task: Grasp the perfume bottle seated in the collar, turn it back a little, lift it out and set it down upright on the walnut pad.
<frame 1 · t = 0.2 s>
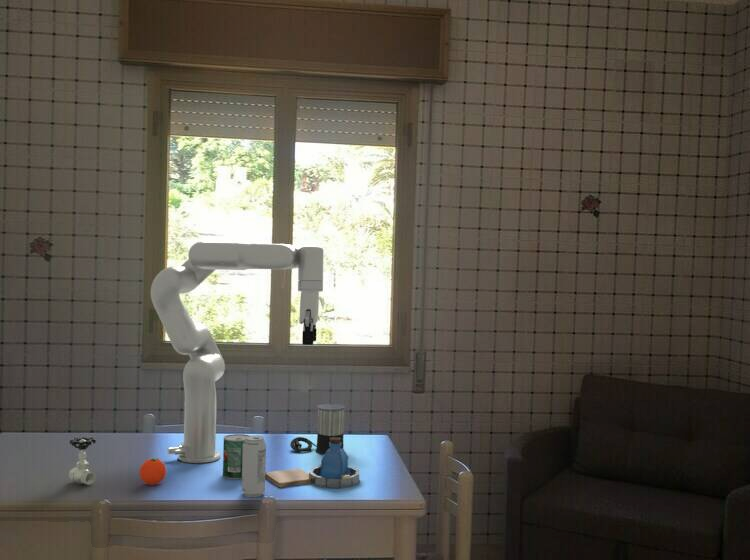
hand: (309, 342, 226), 37 cm above the table, tool pointing down, fingers open, 9 cm apart
energy drink can: (253, 495, 197), on the table
valve: (81, 484, 201), on the table
canned tomato: (236, 476, 213), on the table
perfume bottle: (334, 481, 211), resting in collar
clementine: (153, 484, 203), on the table
milk frother: (317, 451, 243), on the table
pad: (289, 479, 211), on the table
collar: (334, 480, 211), on the table
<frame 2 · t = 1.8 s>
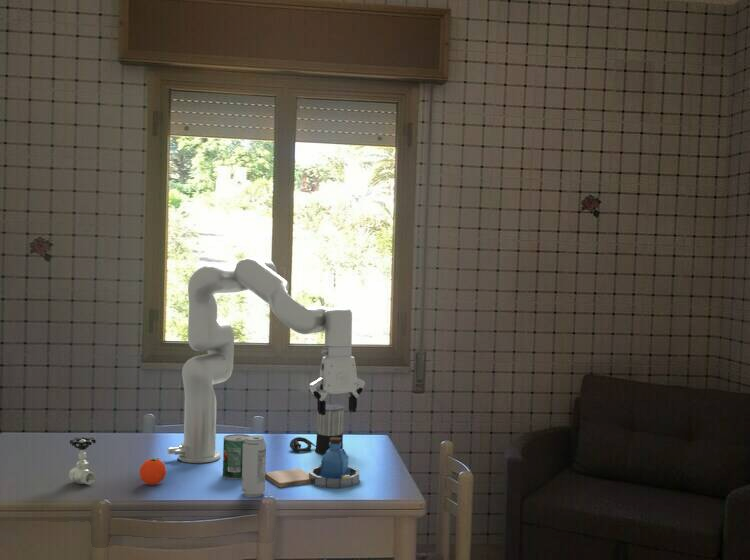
hand: (337, 412, 210), 19 cm above the table, tool pointing down, fingers open, 9 cm apart
nothing on the table moved.
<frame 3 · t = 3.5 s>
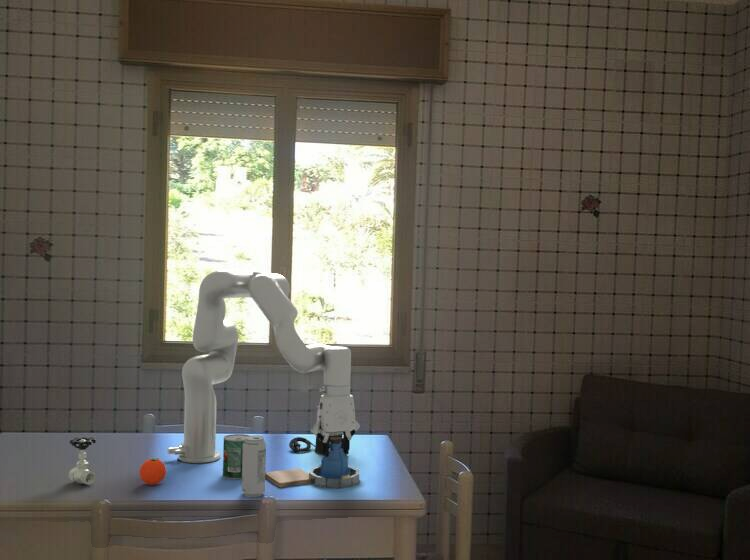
hand: (335, 453, 211), 8 cm above the table, tool pointing down, fingers closed on perfume bottle, 5 cm apart
perfume bottle: (334, 481, 211), resting in collar, touching gripper
everything else where it was.
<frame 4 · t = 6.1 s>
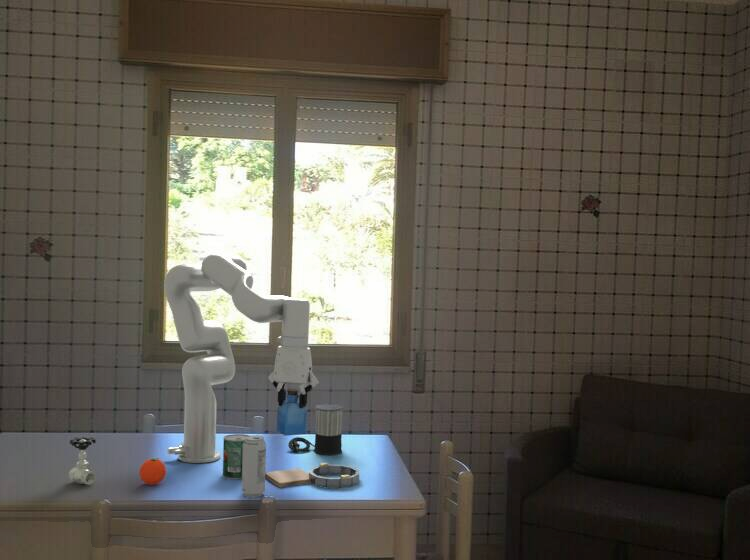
hand: (292, 405, 210), 21 cm above the table, tool pointing down, fingers closed on perfume bottle, 5 cm apart
perfume bottle: (291, 433, 211), point 13 cm above the table, touching gripper
everything else where it was.
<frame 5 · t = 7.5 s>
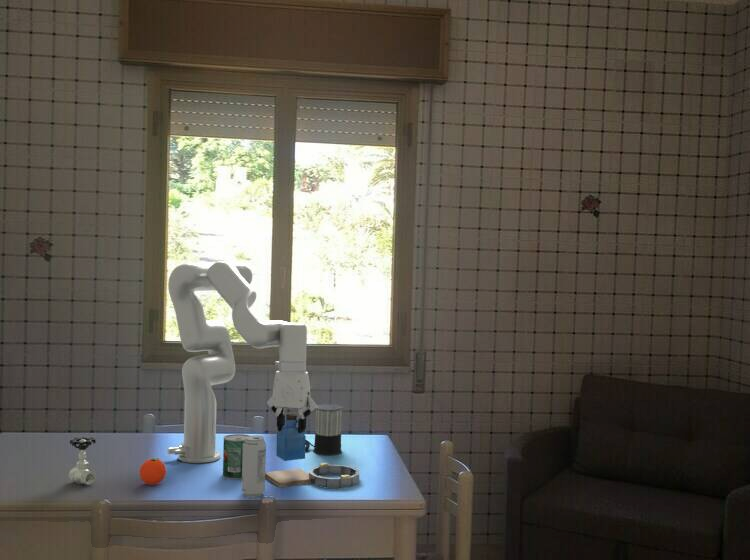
hand: (291, 430, 210), 14 cm above the table, tool pointing down, fingers closed on perfume bottle, 5 cm apart
perfume bottle: (290, 457, 210), point 6 cm above the table, touching gripper
everything else where it was.
when the fingers open (10 cm above the table, at t = 8.7 s): perfume bottle drops 1 cm, resting on pad.
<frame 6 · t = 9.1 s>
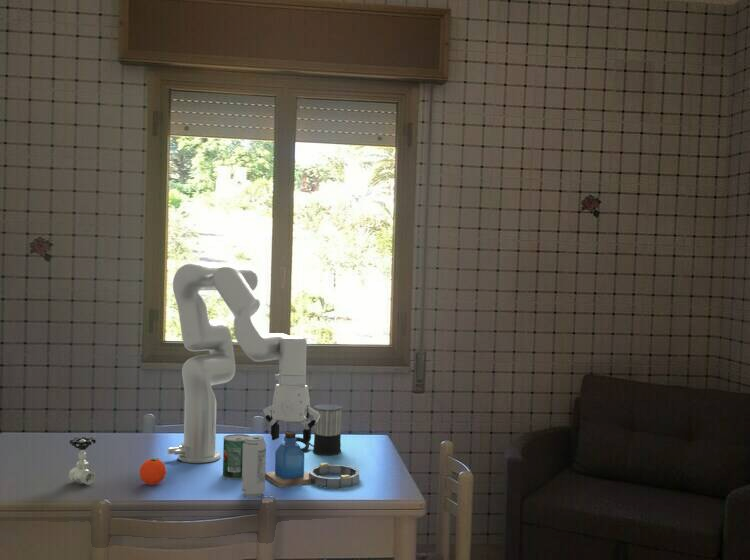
hand: (290, 440, 210), 11 cm above the table, tool pointing down, fingers open, 9 cm apart
perfume bottle: (289, 475, 211), point 1 cm above the table, touching pad
everything else where it was.
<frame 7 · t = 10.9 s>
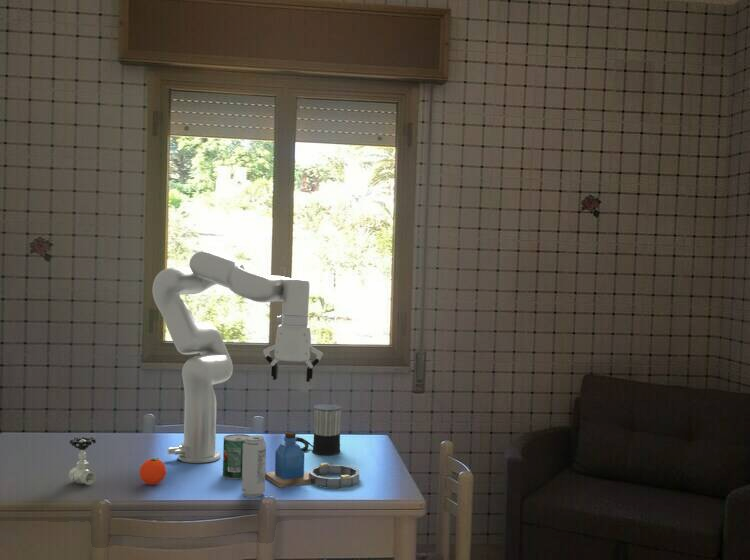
hand: (291, 380, 216), 27 cm above the table, tool pointing down, fingers open, 9 cm apart
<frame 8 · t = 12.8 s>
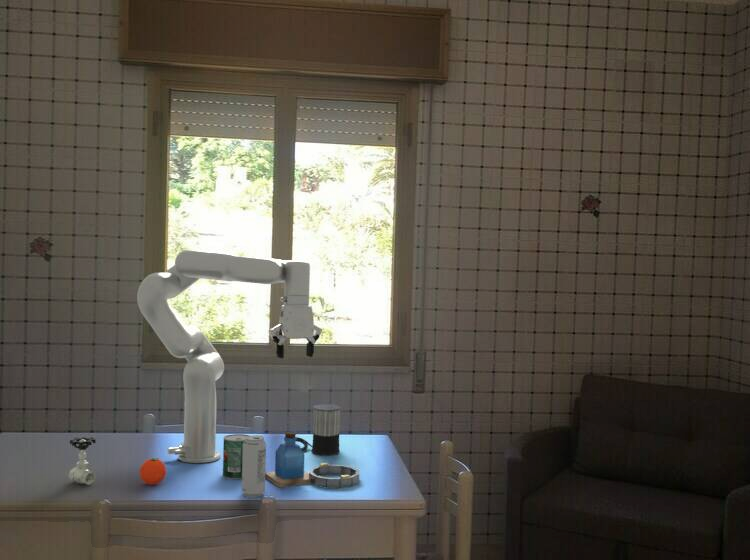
hand: (295, 357, 228), 32 cm above the table, tool pointing down, fingers open, 9 cm apart
at the end: perfume bottle 0.2 cm from the pad (horizontally); perfume bottle tilted 0°; the gripper is holding nothing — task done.
